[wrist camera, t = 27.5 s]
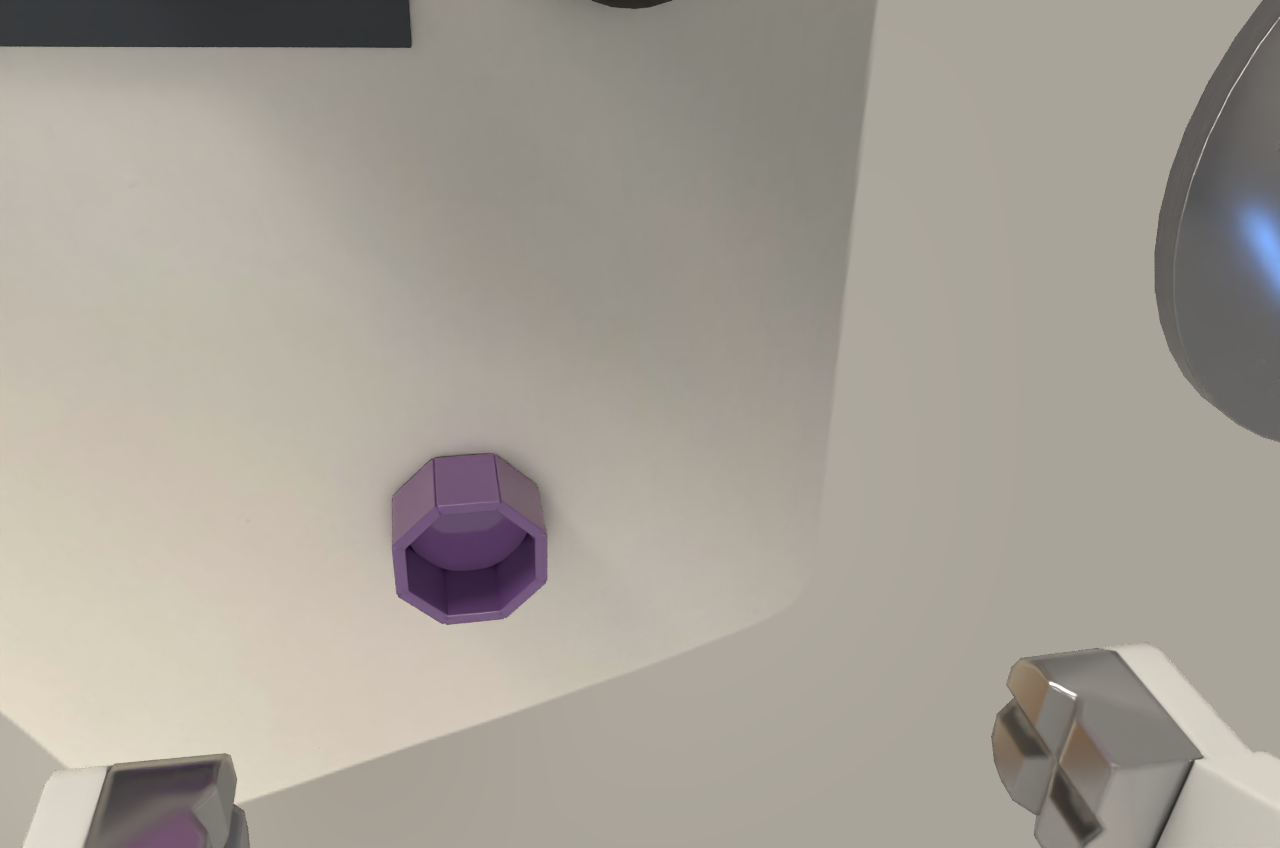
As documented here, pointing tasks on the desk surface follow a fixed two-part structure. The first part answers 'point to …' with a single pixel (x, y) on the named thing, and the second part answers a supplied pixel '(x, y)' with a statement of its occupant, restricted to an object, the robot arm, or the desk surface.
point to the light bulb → (631, 3)
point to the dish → (468, 539)
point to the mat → (205, 23)
